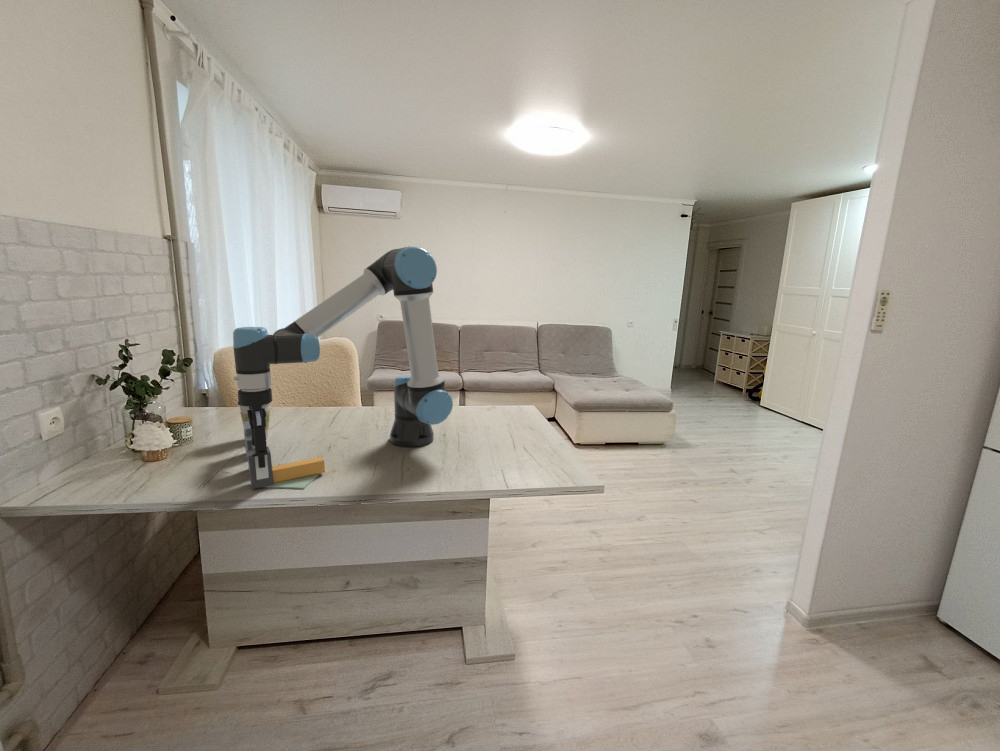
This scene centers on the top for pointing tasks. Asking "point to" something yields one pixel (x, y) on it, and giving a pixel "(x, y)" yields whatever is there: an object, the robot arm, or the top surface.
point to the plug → (283, 470)
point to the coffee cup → (245, 418)
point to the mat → (295, 482)
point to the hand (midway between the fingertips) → (261, 473)
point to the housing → (247, 437)
